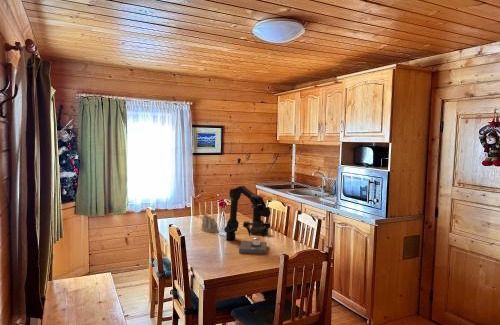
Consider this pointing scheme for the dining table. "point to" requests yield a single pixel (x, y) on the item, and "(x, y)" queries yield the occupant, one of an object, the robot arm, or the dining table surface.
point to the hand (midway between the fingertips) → (256, 236)
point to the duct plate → (252, 248)
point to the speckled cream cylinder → (256, 242)
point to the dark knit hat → (258, 230)
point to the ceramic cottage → (209, 224)
